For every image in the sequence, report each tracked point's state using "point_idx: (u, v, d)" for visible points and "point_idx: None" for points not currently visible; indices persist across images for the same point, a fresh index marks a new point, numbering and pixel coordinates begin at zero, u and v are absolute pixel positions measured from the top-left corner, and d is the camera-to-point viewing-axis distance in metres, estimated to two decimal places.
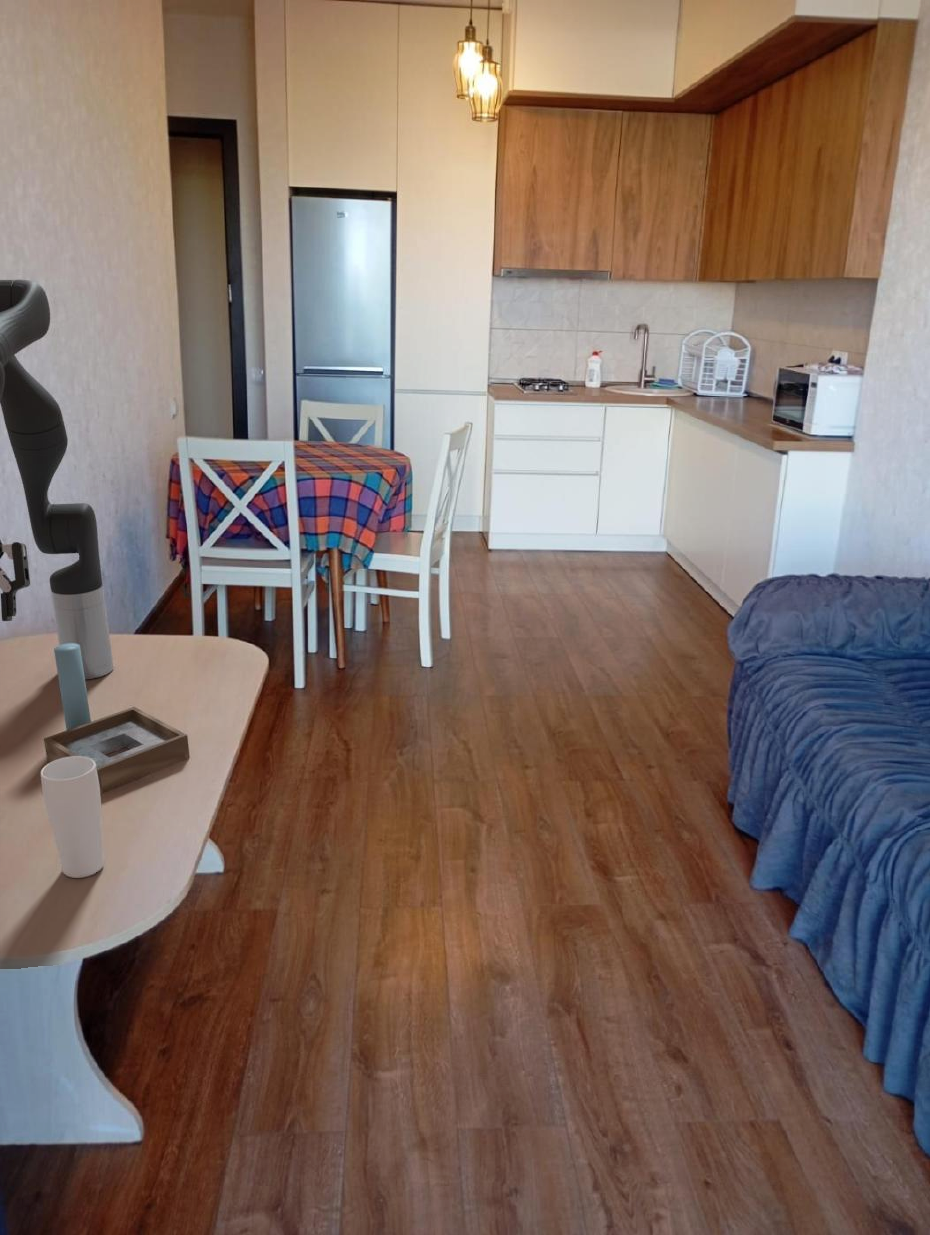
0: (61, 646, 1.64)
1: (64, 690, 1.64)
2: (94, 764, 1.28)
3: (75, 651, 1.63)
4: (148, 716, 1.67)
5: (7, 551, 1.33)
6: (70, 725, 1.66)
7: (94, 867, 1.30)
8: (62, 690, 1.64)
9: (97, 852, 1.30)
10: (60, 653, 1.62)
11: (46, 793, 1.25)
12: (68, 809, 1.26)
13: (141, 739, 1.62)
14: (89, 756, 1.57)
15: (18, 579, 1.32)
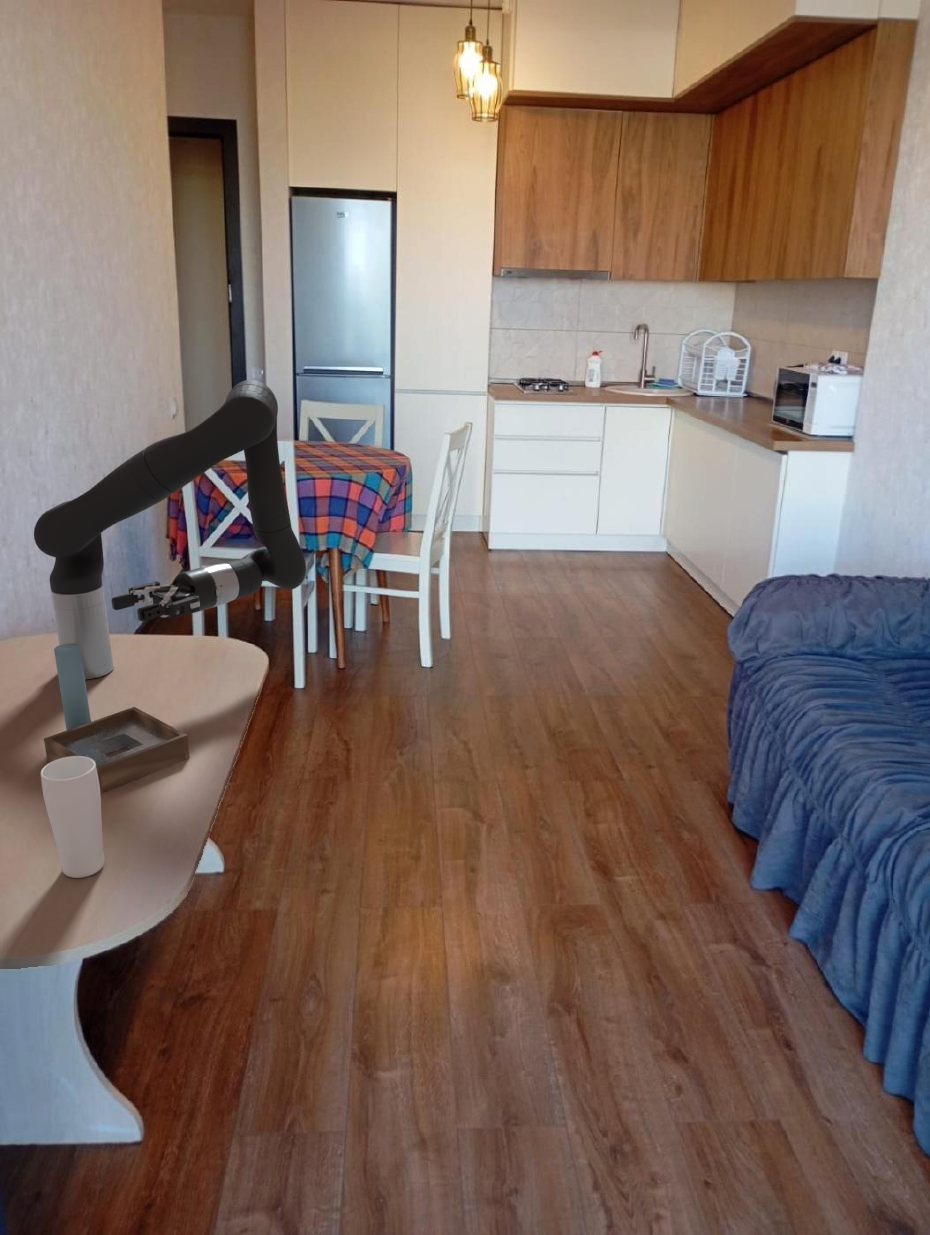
0: (61, 646, 1.64)
1: (64, 690, 1.64)
2: (94, 764, 1.28)
3: (75, 651, 1.63)
4: (148, 716, 1.67)
5: None
6: (70, 725, 1.66)
7: (94, 867, 1.30)
8: (62, 690, 1.64)
9: (97, 852, 1.30)
10: (60, 653, 1.62)
11: (46, 793, 1.25)
12: (68, 809, 1.26)
13: (141, 739, 1.62)
14: (89, 756, 1.57)
15: None
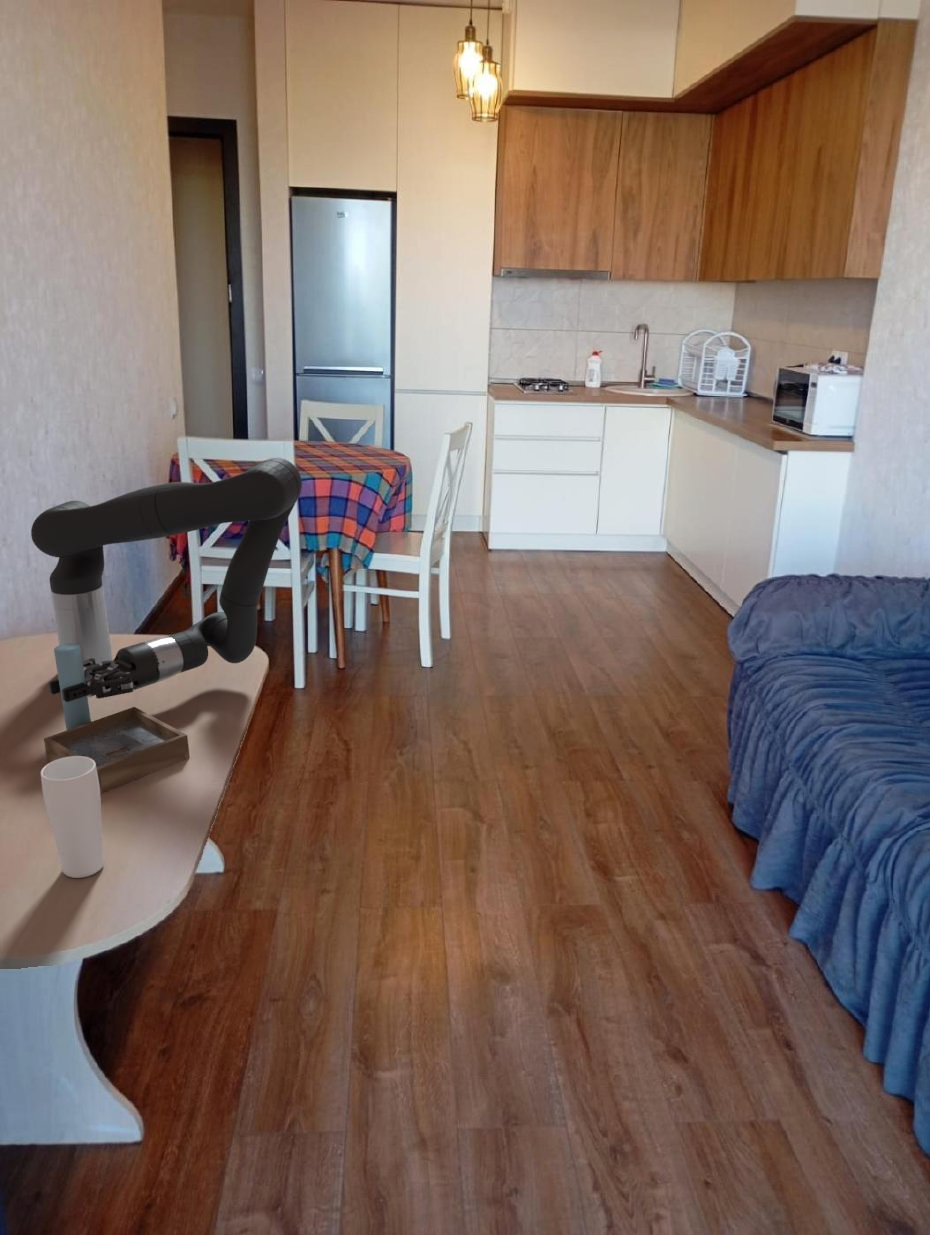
0: (61, 646, 1.64)
1: None
2: (94, 764, 1.28)
3: (75, 651, 1.63)
4: (148, 716, 1.67)
5: None
6: (70, 725, 1.66)
7: (94, 867, 1.30)
8: None
9: (97, 852, 1.30)
10: (60, 653, 1.62)
11: (46, 793, 1.25)
12: (68, 809, 1.26)
13: (141, 739, 1.62)
14: (89, 756, 1.57)
15: None
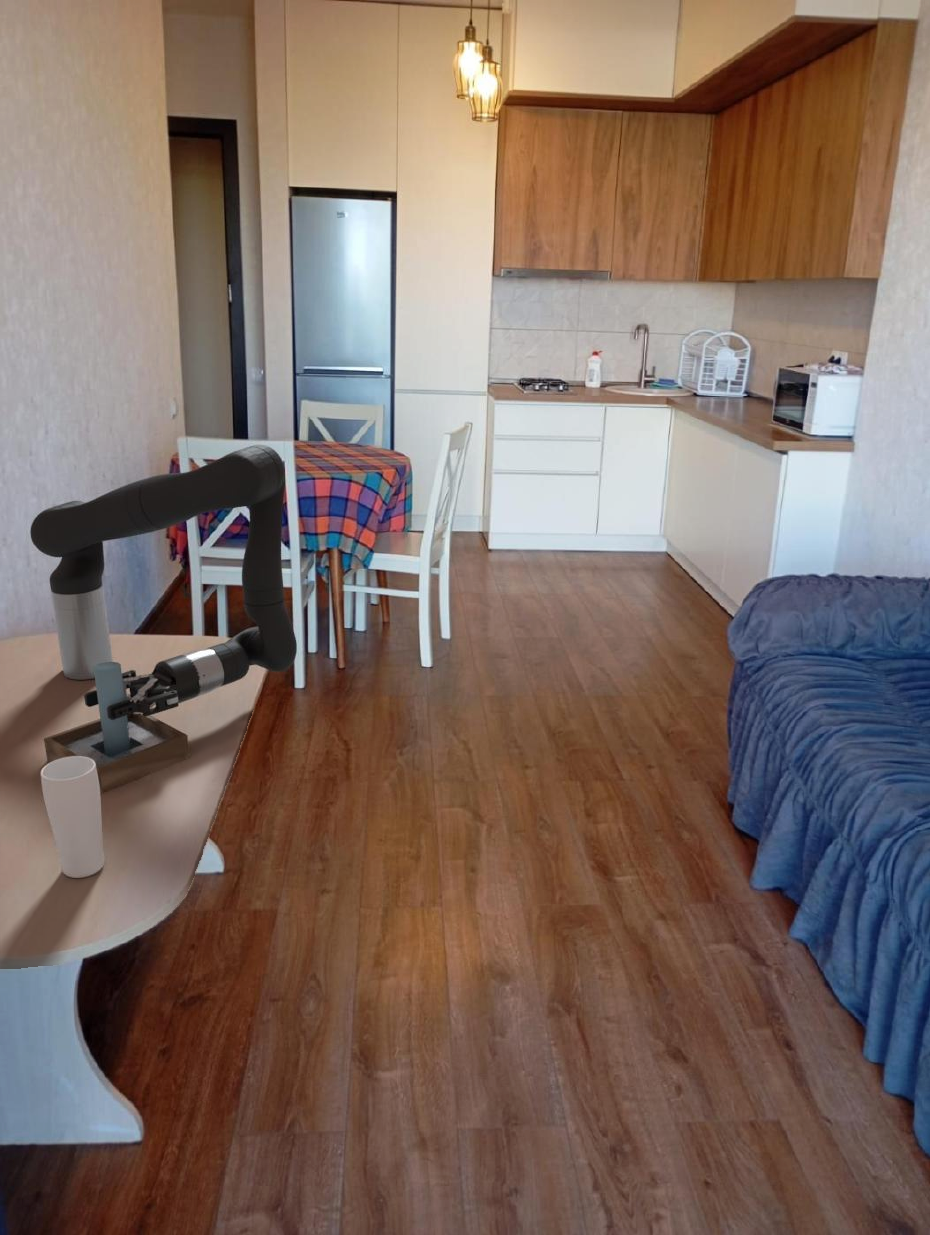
0: (101, 665, 1.56)
1: (104, 711, 1.56)
2: (94, 764, 1.28)
3: (116, 670, 1.55)
4: (148, 716, 1.67)
5: None
6: (109, 748, 1.58)
7: (94, 867, 1.30)
8: (101, 711, 1.57)
9: (97, 852, 1.30)
10: (100, 672, 1.54)
11: (46, 793, 1.25)
12: (68, 809, 1.26)
13: (141, 739, 1.62)
14: (89, 756, 1.57)
15: None
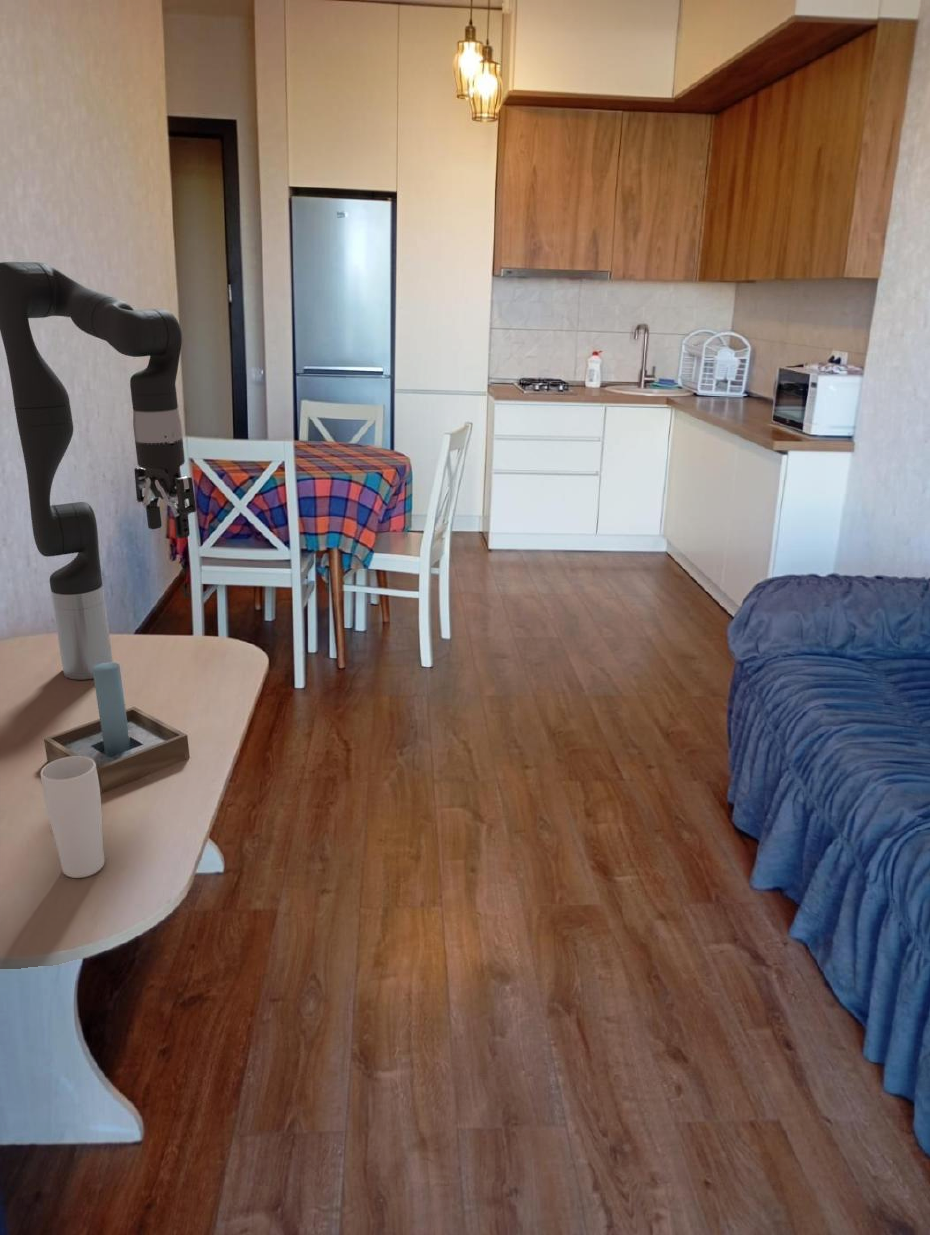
0: (100, 665, 1.56)
1: (103, 712, 1.56)
2: (94, 764, 1.28)
3: (115, 671, 1.55)
4: (148, 716, 1.67)
5: None
6: (109, 748, 1.58)
7: (94, 867, 1.30)
8: (101, 712, 1.57)
9: (97, 852, 1.30)
10: (99, 673, 1.54)
11: (46, 793, 1.25)
12: (68, 809, 1.26)
13: (141, 739, 1.62)
14: (89, 756, 1.57)
15: None
